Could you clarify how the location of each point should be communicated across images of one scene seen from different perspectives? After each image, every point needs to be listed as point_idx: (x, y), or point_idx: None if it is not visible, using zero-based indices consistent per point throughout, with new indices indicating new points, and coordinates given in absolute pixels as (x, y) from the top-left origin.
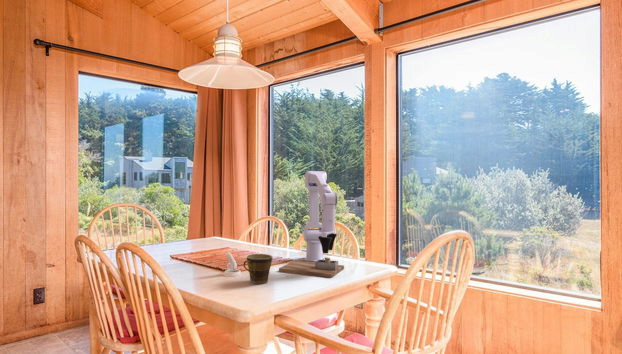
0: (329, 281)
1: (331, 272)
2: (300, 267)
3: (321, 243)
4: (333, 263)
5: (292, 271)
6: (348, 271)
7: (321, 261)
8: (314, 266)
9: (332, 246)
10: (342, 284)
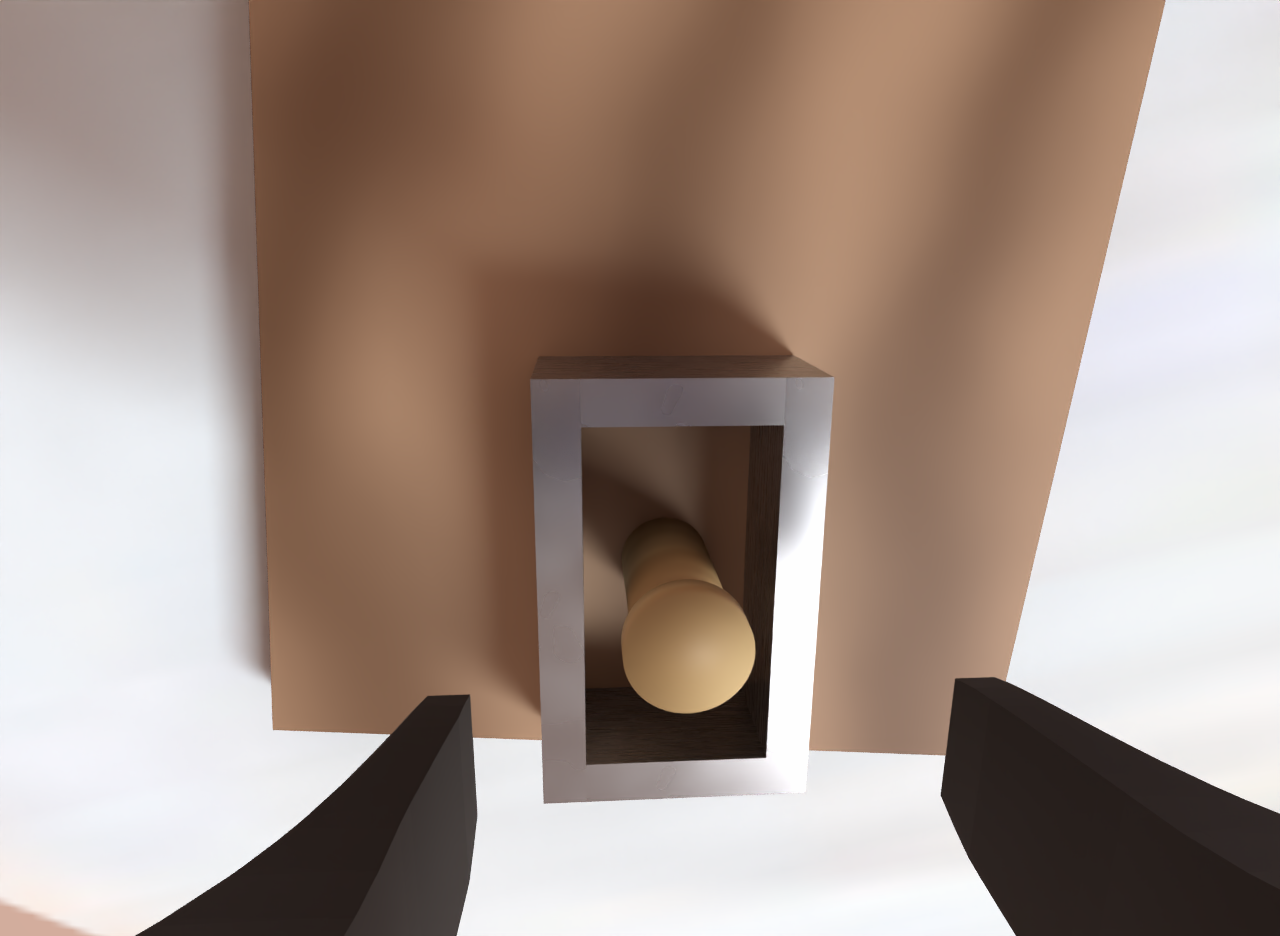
0: (77, 717)
1: (399, 695)
2: (541, 11)
3: (214, 908)
4: (546, 765)
5: None
6: (810, 814)
7: (772, 453)
8: (741, 285)
9: (997, 897)
10: (21, 906)
